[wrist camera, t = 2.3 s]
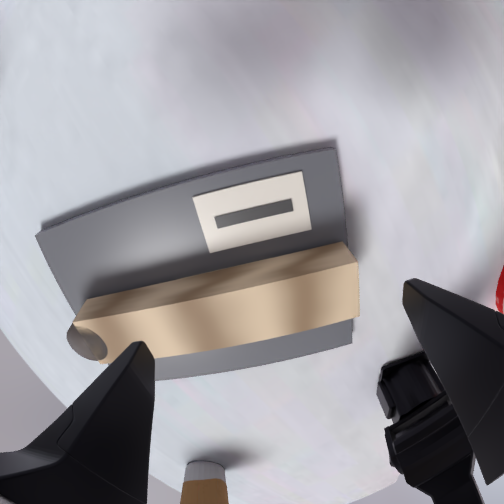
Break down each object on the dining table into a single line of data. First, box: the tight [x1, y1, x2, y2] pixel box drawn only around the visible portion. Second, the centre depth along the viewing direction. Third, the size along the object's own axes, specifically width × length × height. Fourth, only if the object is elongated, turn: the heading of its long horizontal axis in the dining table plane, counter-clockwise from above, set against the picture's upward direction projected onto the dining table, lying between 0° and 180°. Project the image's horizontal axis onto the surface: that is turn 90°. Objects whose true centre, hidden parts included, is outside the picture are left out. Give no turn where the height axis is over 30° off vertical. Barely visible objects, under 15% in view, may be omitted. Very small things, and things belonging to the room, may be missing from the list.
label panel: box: [35, 147, 352, 381], centre depth 22 cm, size 23×17×1 cm
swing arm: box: [67, 241, 360, 364], centre depth 20 cm, size 22×4×3 cm, turn 103°
